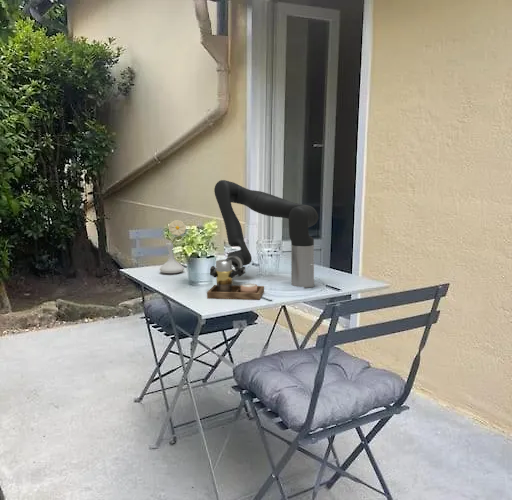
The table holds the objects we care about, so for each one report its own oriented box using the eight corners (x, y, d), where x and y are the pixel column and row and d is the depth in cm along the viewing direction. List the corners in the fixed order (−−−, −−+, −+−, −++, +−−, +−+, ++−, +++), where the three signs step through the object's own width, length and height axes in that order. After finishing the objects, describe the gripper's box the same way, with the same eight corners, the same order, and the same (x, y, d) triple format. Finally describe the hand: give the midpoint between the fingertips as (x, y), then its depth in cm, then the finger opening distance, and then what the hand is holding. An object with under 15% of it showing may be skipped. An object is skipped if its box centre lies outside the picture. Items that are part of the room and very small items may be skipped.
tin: (234, 289, 213) (233, 259, 211) (230, 293, 207) (230, 262, 205) (218, 289, 214) (217, 259, 212) (215, 293, 208) (214, 262, 206)
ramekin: (258, 293, 212) (258, 283, 211) (255, 297, 205) (255, 287, 205) (242, 293, 213) (242, 282, 212) (239, 297, 206) (239, 286, 206)
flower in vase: (157, 275, 250) (155, 221, 246) (161, 270, 261) (159, 218, 257) (186, 275, 250) (184, 221, 246) (188, 270, 262) (187, 218, 257)
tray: (264, 293, 214) (264, 286, 214) (259, 301, 203) (259, 293, 202) (214, 292, 217) (214, 284, 217) (207, 299, 206) (207, 292, 205)
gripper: (214, 256, 224) (204, 265, 207) (248, 257, 221) (241, 265, 205) (214, 274, 225) (204, 284, 209) (249, 275, 223) (241, 285, 206)
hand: (222, 275), depth 207 cm, fingers closed on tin, 6 cm apart
